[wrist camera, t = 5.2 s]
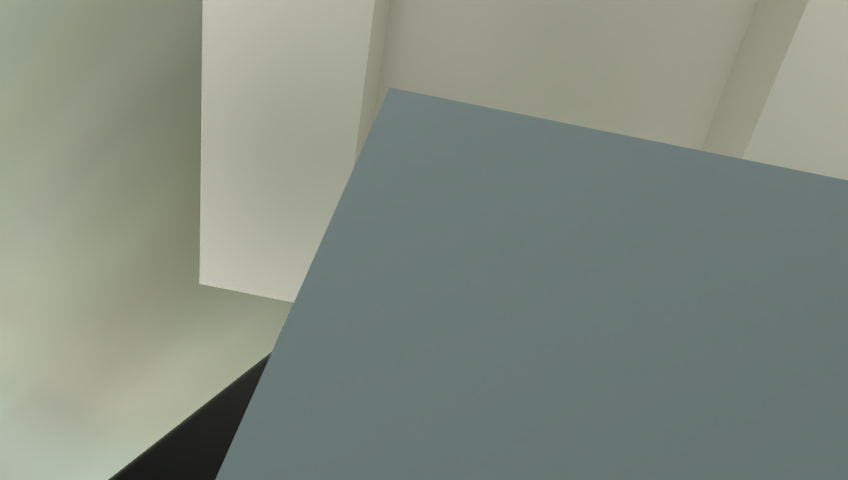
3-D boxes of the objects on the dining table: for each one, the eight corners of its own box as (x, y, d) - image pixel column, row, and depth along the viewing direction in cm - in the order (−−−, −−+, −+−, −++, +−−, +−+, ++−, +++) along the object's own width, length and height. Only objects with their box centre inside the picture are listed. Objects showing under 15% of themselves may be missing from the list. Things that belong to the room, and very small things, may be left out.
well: (1008, -184, 14) (1111, -173, 12) (757, 324, 21) (789, 402, 18) (262, -327, 15) (206, -345, 12) (239, 220, 21) (199, 283, 18)
